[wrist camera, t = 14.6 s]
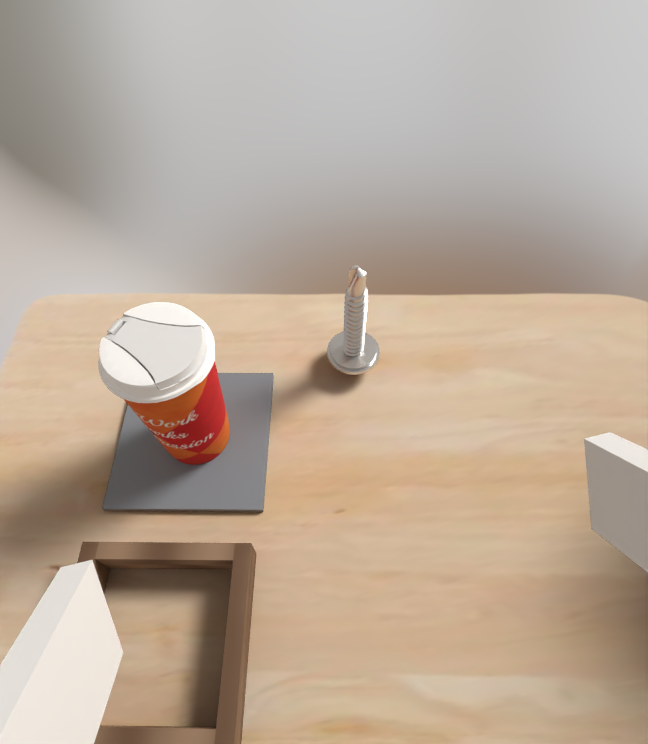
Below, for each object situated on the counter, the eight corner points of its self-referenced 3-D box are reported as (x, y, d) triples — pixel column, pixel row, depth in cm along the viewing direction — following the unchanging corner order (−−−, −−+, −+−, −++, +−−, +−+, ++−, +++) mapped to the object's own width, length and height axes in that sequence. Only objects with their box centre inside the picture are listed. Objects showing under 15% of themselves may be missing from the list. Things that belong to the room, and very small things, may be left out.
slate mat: (273, 376, 49) (273, 373, 49) (263, 511, 42) (262, 509, 42) (137, 375, 50) (135, 372, 49) (104, 510, 43) (102, 508, 42)
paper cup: (135, 454, 45) (65, 364, 33) (186, 385, 48) (139, 281, 36) (212, 493, 43) (167, 412, 31) (259, 418, 46) (235, 320, 35)
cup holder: (256, 553, 41) (251, 543, 38) (240, 750, 34) (233, 753, 31) (98, 551, 41) (82, 541, 38) (51, 746, 34) (29, 750, 32)
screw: (375, 387, 48) (324, 381, 49) (379, 345, 51) (331, 340, 51) (387, 295, 38) (321, 288, 38) (392, 247, 40) (330, 242, 41)
